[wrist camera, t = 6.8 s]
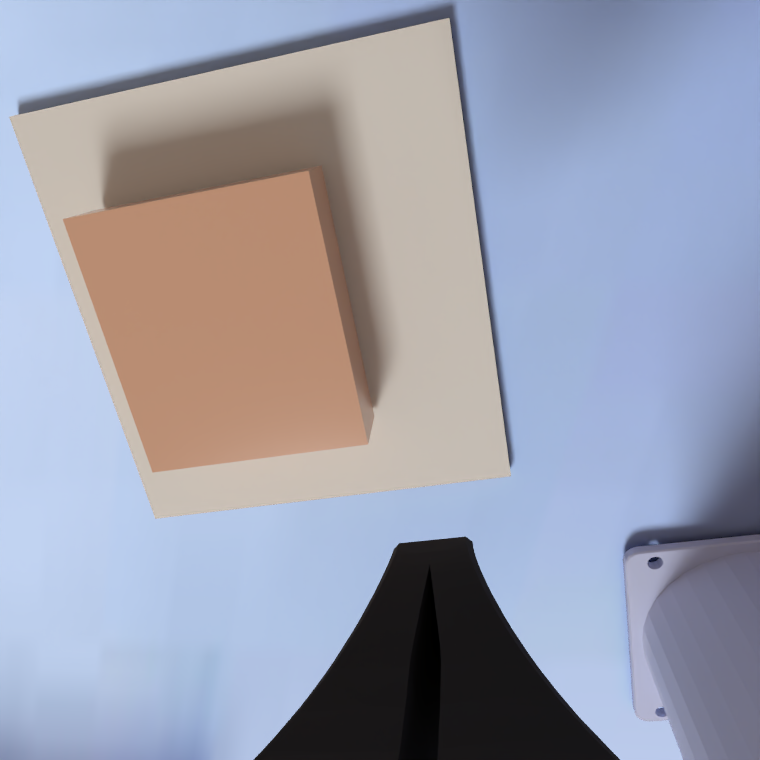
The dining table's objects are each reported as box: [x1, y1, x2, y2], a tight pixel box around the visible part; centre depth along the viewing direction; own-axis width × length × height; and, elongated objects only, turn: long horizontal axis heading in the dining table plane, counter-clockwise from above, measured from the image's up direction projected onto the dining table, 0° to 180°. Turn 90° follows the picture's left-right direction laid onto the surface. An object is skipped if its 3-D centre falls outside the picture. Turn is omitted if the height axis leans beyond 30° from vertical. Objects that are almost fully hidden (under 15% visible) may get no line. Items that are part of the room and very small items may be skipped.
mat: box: [10, 18, 511, 519], centre depth 21 cm, size 13×14×1 cm
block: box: [63, 165, 374, 472], centre depth 20 cm, size 2×8×7 cm
